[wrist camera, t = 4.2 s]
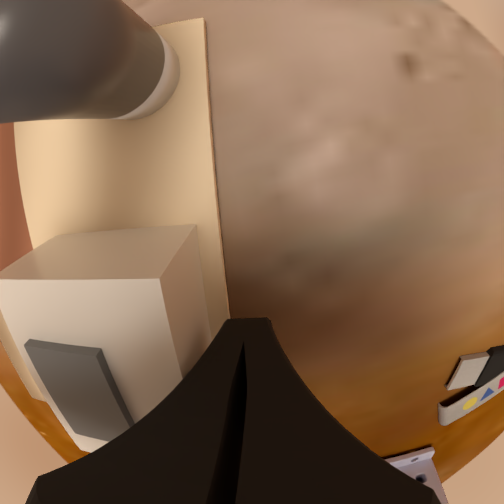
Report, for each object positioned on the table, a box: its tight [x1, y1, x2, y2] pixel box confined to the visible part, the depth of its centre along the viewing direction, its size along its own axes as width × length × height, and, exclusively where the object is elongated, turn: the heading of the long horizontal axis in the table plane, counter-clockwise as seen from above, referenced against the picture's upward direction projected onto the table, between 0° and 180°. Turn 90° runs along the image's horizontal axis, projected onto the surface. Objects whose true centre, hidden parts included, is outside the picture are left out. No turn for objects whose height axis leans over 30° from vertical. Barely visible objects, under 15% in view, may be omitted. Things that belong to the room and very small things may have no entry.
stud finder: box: [0, 224, 212, 453], centre depth 8 cm, size 5×7×4 cm
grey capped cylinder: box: [0, 0, 180, 124], centre depth 4 cm, size 3×3×6 cm
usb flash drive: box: [438, 345, 504, 426], centre depth 12 cm, size 9×5×1 cm, turn 87°
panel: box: [0, 18, 230, 402], centre depth 10 cm, size 12×15×1 cm
